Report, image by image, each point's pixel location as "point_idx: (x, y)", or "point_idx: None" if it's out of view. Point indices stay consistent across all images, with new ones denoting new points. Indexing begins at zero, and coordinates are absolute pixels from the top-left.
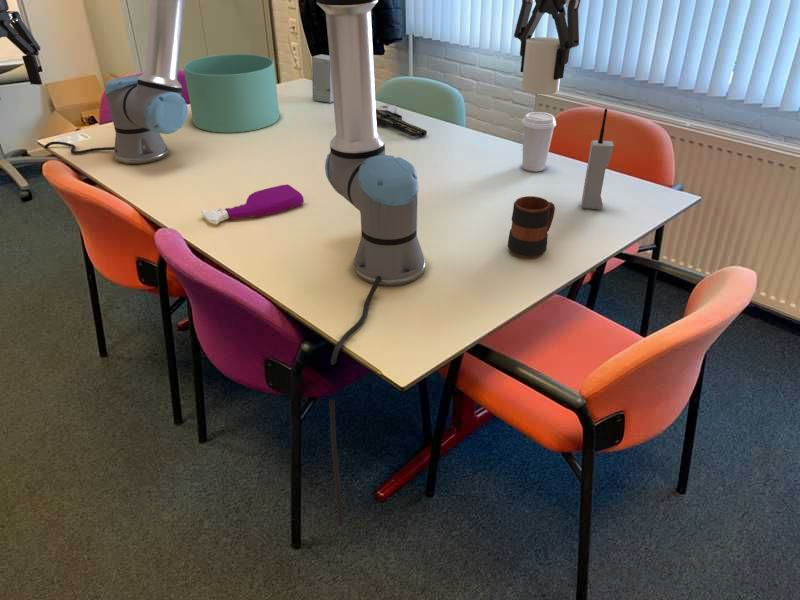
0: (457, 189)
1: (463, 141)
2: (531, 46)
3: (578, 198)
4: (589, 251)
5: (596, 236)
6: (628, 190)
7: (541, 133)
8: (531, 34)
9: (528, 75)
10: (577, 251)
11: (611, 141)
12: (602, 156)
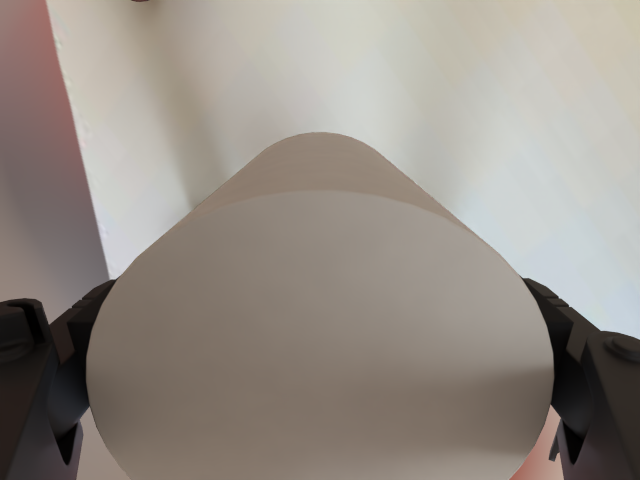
0: (474, 91)
1: (607, 313)
2: (361, 181)
3: None
4: (87, 46)
5: (126, 117)
6: None
7: None
8: (574, 475)
9: (340, 143)
10: (100, 26)
11: None
12: None
